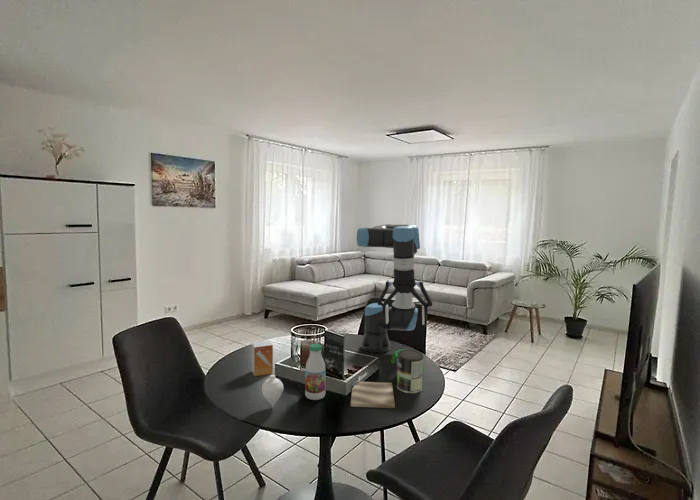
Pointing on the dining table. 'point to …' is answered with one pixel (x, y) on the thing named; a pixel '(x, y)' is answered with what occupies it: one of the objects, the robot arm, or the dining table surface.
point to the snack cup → (397, 357)
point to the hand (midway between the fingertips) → (405, 323)
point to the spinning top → (272, 389)
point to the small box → (262, 358)
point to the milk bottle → (315, 374)
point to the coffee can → (409, 371)
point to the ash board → (373, 395)
